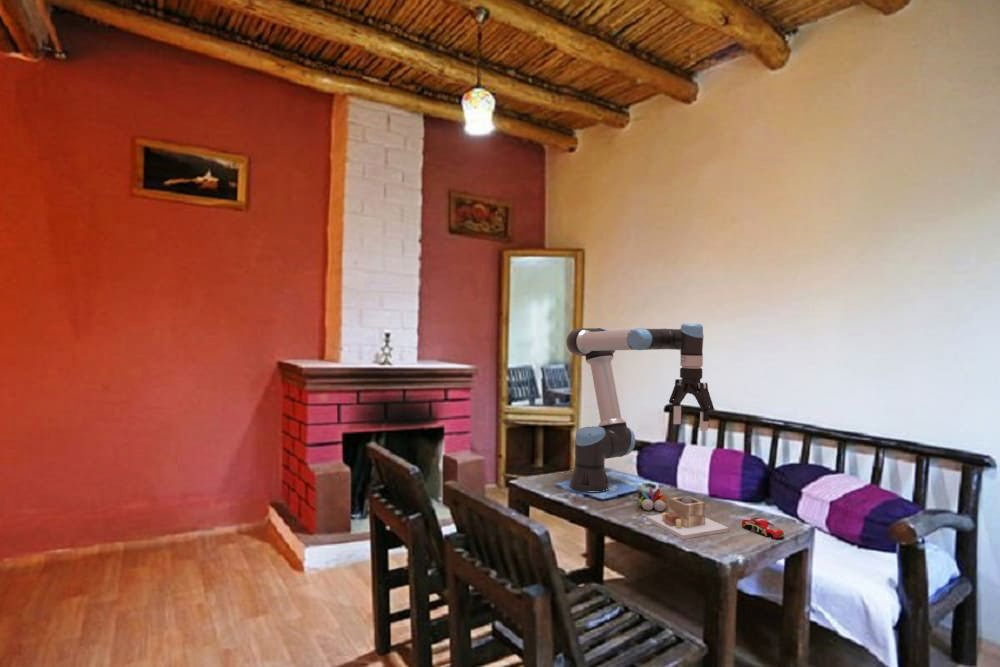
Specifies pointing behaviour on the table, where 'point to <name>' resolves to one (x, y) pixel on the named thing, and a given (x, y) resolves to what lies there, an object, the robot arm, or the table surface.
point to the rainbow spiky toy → (653, 501)
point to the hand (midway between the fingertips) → (690, 427)
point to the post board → (688, 532)
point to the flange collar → (686, 512)
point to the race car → (762, 527)
